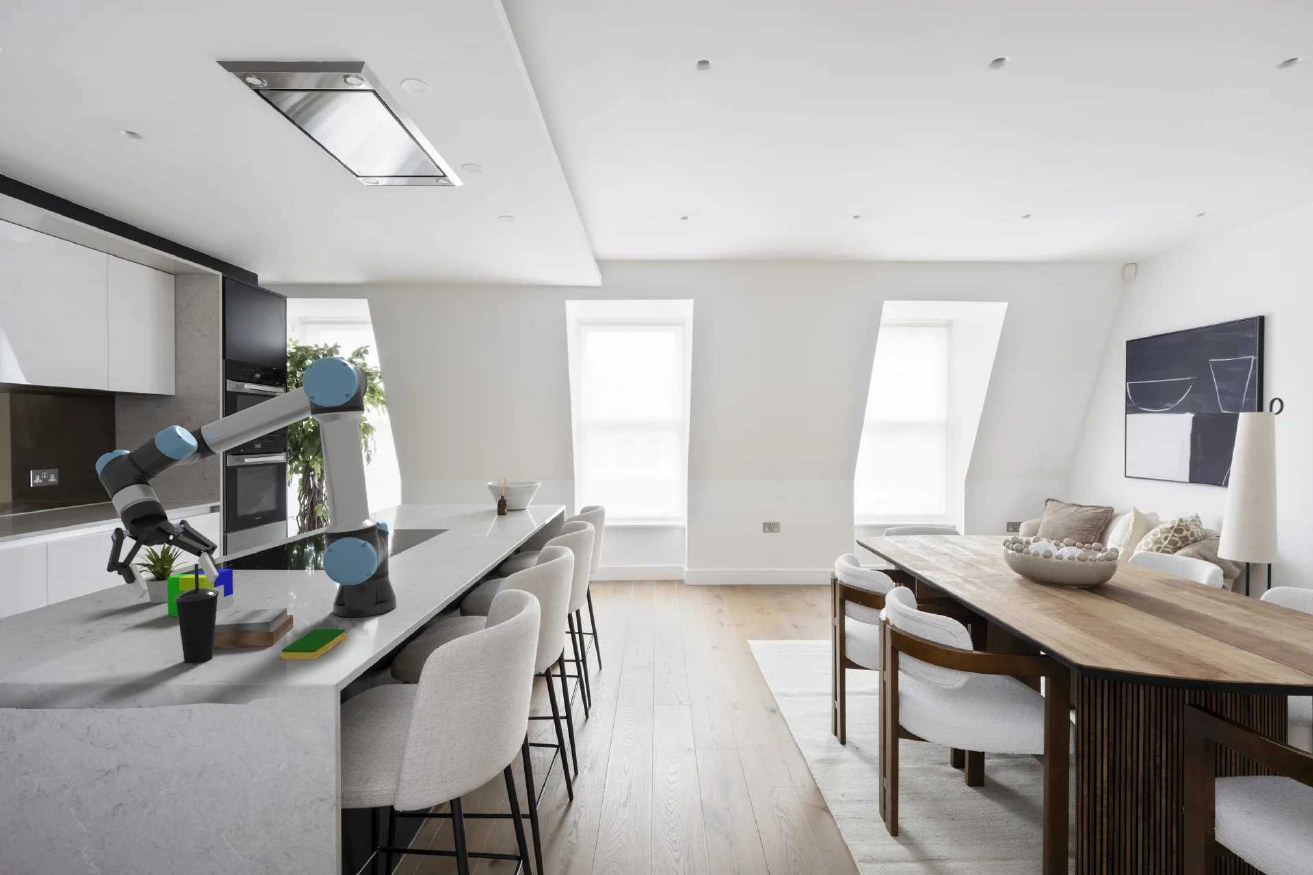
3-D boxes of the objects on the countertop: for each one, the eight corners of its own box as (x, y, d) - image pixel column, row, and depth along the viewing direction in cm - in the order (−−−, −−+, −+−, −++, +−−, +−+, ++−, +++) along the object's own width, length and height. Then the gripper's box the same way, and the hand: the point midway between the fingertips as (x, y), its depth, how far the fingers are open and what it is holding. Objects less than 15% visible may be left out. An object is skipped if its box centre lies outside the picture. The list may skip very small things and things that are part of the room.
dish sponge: (280, 660, 137) (280, 649, 137) (315, 638, 151) (314, 628, 151) (314, 660, 137) (314, 649, 137) (346, 638, 151) (346, 628, 151)
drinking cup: (190, 653, 140) (188, 560, 140) (228, 652, 141) (226, 559, 140) (167, 667, 133) (164, 568, 132) (207, 665, 133) (204, 567, 133)
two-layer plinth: (293, 627, 158) (292, 606, 158) (273, 645, 146) (272, 622, 145) (233, 630, 156) (233, 609, 156) (207, 649, 143) (207, 626, 143)
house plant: (139, 596, 187) (137, 539, 187) (197, 591, 192) (196, 535, 192) (121, 609, 174) (120, 548, 173) (184, 603, 179) (183, 543, 179)
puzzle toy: (233, 606, 177) (232, 569, 177) (204, 617, 167) (203, 577, 167) (199, 605, 178) (198, 568, 178) (168, 616, 168) (167, 577, 168)
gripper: (195, 514, 157) (233, 583, 151) (63, 529, 135) (102, 612, 128) (207, 493, 154) (247, 563, 148) (76, 505, 132) (116, 588, 126)
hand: (180, 586), depth 138 cm, fingers open, 13 cm apart
